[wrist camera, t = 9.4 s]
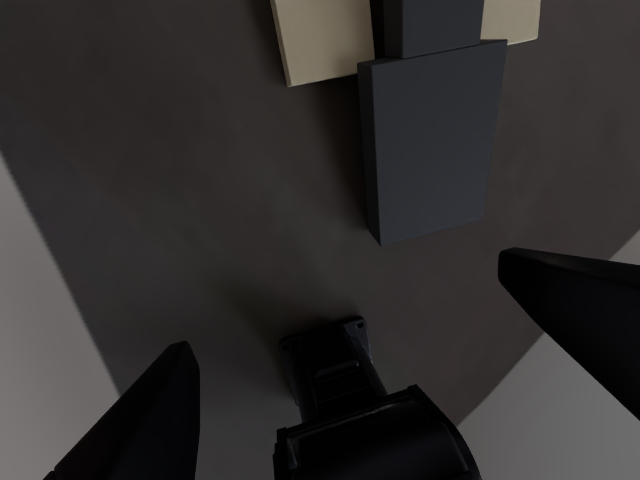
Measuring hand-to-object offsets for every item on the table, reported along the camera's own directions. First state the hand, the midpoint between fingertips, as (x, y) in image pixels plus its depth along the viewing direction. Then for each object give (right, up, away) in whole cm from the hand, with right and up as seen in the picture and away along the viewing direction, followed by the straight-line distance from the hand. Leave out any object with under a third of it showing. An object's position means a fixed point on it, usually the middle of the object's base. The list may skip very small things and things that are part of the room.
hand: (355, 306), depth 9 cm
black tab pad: (+5, +9, +9) cm, 14 cm away
